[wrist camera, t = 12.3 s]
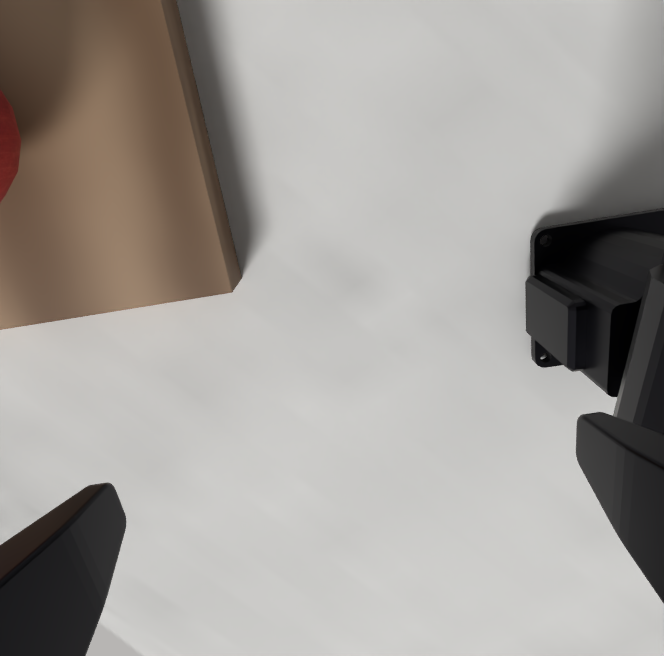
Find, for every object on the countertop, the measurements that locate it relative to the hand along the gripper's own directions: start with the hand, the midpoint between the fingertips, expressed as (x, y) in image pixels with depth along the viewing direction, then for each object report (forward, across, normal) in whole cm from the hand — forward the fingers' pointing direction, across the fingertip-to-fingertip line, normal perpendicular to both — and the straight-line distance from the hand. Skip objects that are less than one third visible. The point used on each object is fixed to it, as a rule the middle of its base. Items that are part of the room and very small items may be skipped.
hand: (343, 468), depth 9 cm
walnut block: (+14, +11, -8) cm, 19 cm away
